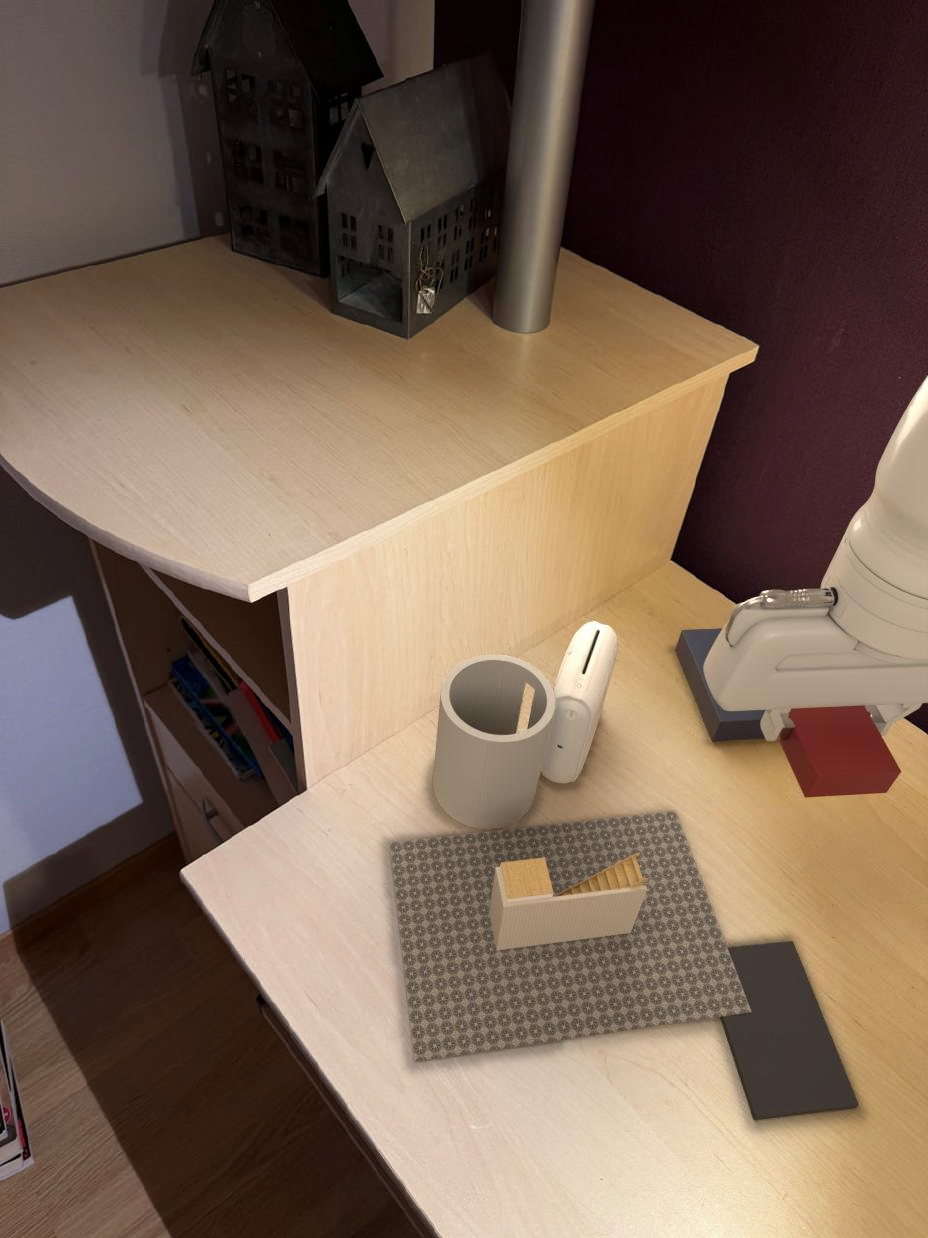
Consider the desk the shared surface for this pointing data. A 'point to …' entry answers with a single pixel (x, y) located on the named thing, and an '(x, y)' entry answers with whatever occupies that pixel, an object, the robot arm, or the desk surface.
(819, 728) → the burgundy notebook
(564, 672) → the photo printer
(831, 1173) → the desk surface
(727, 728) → the navy hardback
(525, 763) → the cup
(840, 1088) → the felt pad
